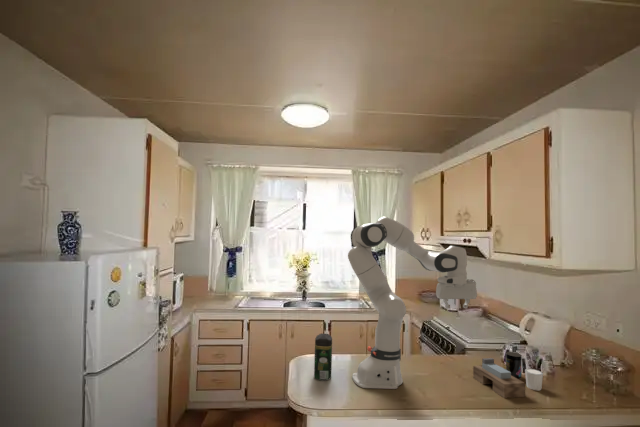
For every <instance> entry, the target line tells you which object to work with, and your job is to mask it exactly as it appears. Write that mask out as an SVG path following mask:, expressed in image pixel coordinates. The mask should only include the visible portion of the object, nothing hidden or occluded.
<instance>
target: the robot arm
mask: <svg viewBox="0 0 640 427" xmlns="http://www.w3.org/2000/svg"><path fill="white" fill-rule="evenodd" d="M383 241H384V242H386V243H387V244H389V245H390V246H392V247H394V248H396V249H398V250H400V251H403V252H405V253H407V254H408V255H410V256H412V257H413V258H414V259H416V260H418V262H419V263H420V265H421V266H422V268H423V269H425V270H426V271H430V272H431V271H432V272H436V273H437V272H438V273H446V274H445V275H442V276H440V277H438V278H437V282H438V283H437V284H436V288H435V296H436V297H437V299H439V300H442V301H443V303H444V306H445V307H444V308H445V309H447V310H449V309H451V304H449V300H464V303H463V304H462V308H463V309H468V307H469V306H468V305H469V304H470V302H471V300H476V299H477V298H478V292H477V283H476V280H474V279H468V277H467V275H468V273H467V272H468V271H467V265H468V256H467V251H466V248H465V247H462V246H459V245H454V244H453V245H452V244H451V245H449V246H448V247H447V248H445V249H444V250H441V251H434V250H428V249H425V248H423V247H422V246H421V245H419V244H418V243H416V242H415V235H414V232H413V231H412V230H410V228H408V227H407V226H405V225H404V224H402V223H401V222H398V221H397V220H395V219H393V218H390V217H388V216H382V217H380V218H379V219H378V220H376V222H369V223H363V224H360V225H358V226H355V227H354V228H353V229H352V231H351V233H350V244H351V245H350V246H351V249H350V250H349V251H348V253H347V259H348V262H349V263H350V266H351V268H352V270H353V273H354V274H355V276H356V277H357V279H358V281H359V282H360V283H361V286H362V287H363V289H364V290H365V292H366V294H367V296H368V299H369V300H370V301H371V304H372V305H373V307H374V309H375V310H376V311H377V313H378V321H377V324H376V327H375V329H374V330H375V334H374V346H373V347H371V345H370V346H369V345H368V346H367V348H366V349H367V351H368V352H369V353H370V355H369V356H368V357H366V358H365V359H363V360H362V361H361V362H359V363H358V366H357V371H356V372H353V373H352V376H351V377H352V378H351V379H352V381H353V382H354V383H355V384H356V385H357V386H358V387H360V388H363V389H390V390H391V389H392V390H395V389H398V388H399V386H400V385H402V384H403V381H404V380H403V376H402V371H401V357H402V353H401V352H402V350H401V332H402V331H401V330H402V325H403V321H404V317H406V314H407V306H406V305H405V302H404V300H403V299H402V298H401V297H400V296H398V295H397V294H395V293H394V292H393V290H392V288H391V287H390V284H389V282H388V280H387V276H386V275H385V274H384V271H383V270H382V269H381V267H380V266H379V264H378V262H377V260H376V259H375V258H374V256H373V253H372V248H376V247H377V246H380V244H382V243H383Z"/></svg>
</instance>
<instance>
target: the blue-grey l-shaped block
mask: <svg viewBox="0 0 640 427" xmlns="http://www.w3.org/2000/svg"><path fill="white" fill-rule="evenodd" d="M481 361H482V362H481V363H482V364H481V365H482V368H483V369H485V370H486V371H488V372H490V373H492V374H493V375H495V376H497V377H498V378H500V379H508V378H511V372H509V371H507V370H506V368H504V367H502V366H500V365H498V364H497V363H495V358H492V357H489V358H488V357H487V358H484V357H483V358H482V359H481Z"/></svg>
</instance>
